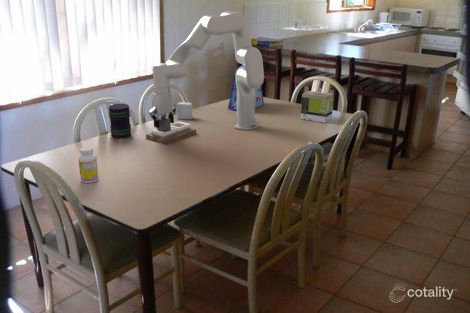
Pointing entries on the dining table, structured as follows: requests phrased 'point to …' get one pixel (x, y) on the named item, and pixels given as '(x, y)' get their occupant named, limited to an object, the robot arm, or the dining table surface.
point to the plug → (164, 124)
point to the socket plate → (172, 130)
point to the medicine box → (184, 110)
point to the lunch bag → (233, 95)
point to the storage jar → (120, 121)
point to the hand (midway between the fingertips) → (164, 125)
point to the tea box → (317, 106)
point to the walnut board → (173, 137)
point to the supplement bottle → (88, 165)
